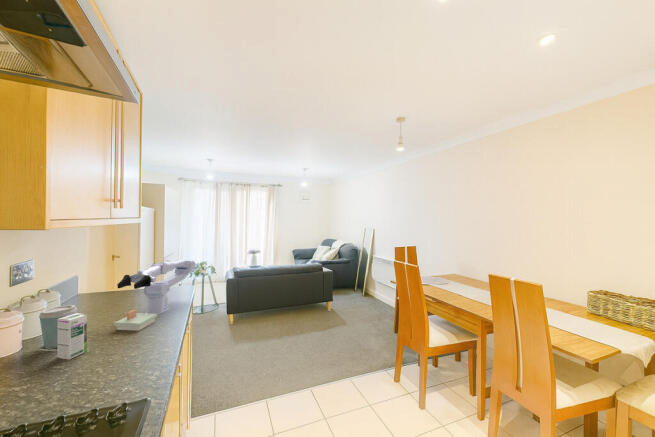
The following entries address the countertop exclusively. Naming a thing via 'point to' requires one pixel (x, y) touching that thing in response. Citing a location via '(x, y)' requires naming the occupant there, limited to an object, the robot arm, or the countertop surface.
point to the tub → (135, 327)
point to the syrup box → (72, 335)
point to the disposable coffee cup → (53, 323)
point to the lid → (135, 319)
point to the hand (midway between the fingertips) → (126, 286)
